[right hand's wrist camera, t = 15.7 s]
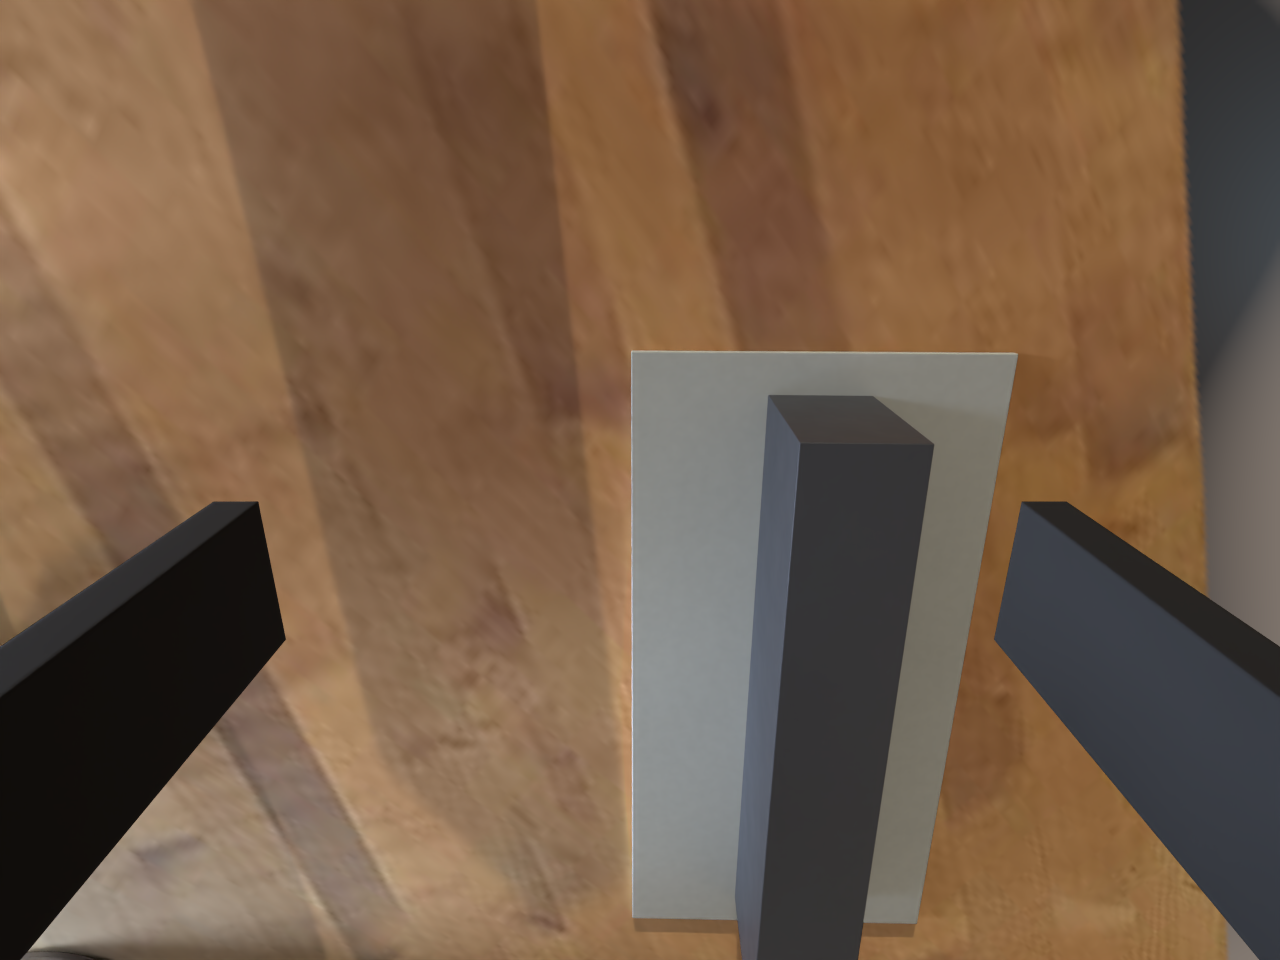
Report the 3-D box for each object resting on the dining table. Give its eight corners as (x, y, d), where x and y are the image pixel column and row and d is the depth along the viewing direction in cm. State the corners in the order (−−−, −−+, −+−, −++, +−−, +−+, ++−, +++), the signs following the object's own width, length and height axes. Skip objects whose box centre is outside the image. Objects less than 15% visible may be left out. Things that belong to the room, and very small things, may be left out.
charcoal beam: (814, 898, 45) (847, 1034, 37) (734, 896, 45) (750, 1032, 37) (873, 395, 34) (935, 444, 27) (767, 394, 34) (799, 442, 27)
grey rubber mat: (632, 912, 46) (632, 918, 46) (631, 350, 34) (631, 351, 34) (914, 918, 46) (917, 924, 45) (1014, 352, 34) (1018, 353, 33)
